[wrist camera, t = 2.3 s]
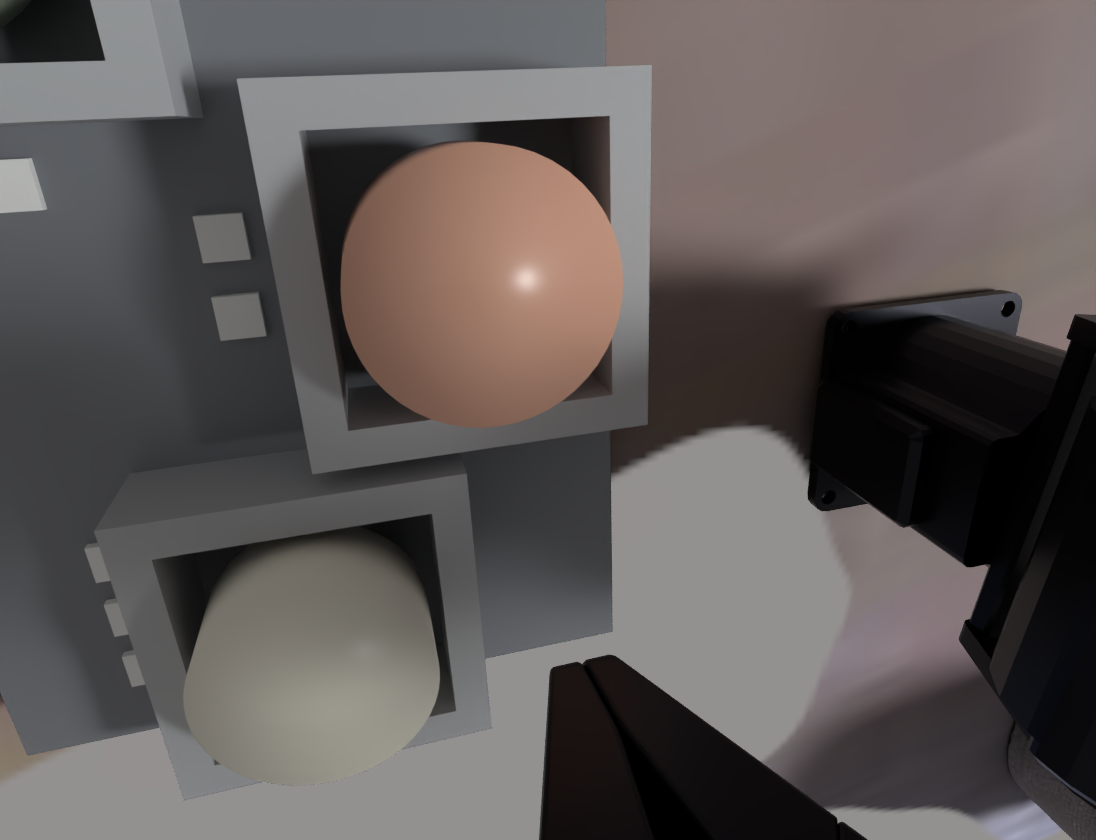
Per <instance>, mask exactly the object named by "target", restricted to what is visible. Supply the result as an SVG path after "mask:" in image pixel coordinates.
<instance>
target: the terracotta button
mask: <svg viewBox="0 0 1096 840" xmlns="http://www.w3.org/2000/svg"><path fill="white" fill-rule="evenodd" d="M622 296H623V270H622V261H621V256H620V251H619V246H618V243H617V240H616V237H615V234H614V231H613V228H612V226H611V224H610V222H609V220H608V218H607V216H606V214H605V212H604V211H603V209H602V208H601V206H600V205H599V203H598V201H597V200H596V198H595V197H594V196H593V195H592V194H591V192H590V191H589V190H588V189H587V188H586V187H585V186H584V184H583V183H582V182H580V181H579V180H578V179H577V178H576V177H575V176H574V175H572V174H571V173H570V172H569V171H568V170H566V169H565V168H563V167H561V166H560V165H558V164H557V163H555V162H554V161H552V160H550V159H548V158H546V157H544V156H542V155H539V154H537V153H535V152H532V151H529V150H526V149H522V148H519V147H515V146H509V145H503V144H496V143H487V142H478V141H447V142H439V143H435V144H431V145H428V146H424V147H421V148H419V149H416V150H414V151H412V152H409V153H407V154H405V155H404V156H402V157H400V158H399V159H397V160H396V161H394V162H392V163H391V164H390V165H389V166H387V167H386V168H385V169H384V170H383V171H381V172H380V173H379V174H378V175H377V176H376V177H375V178H374V180H373V181H372V182H371V183H370V184H369V185H368V186H367V188H366V189H365V191H364V192H363V193H362V195H361V196H360V198H359V199H358V201H357V203H356V205H355V207H354V209H353V211H352V213H351V215H350V218H349V221H348V224H347V227H346V230H345V235H344V240H343V246H342V260H341V302H342V312H343V316H344V321H345V325H346V329H347V332H348V335H349V337H350V340H351V343H352V345H353V348H354V349H355V351H356V353H357V355H358V357H359V359H360V361H361V362H362V364H363V365H364V367H365V368H366V370H367V371H368V372H369V374H370V375H371V376H372V378H373V379H374V380H375V381H376V382H377V383H378V384H379V385H380V386H381V387H382V388H383V389H384V391H385V392H387V393H388V394H389V395H390V396H392V397H393V398H394V399H395V400H397V401H398V402H399V403H401V404H402V405H404V406H406V407H407V408H409V409H410V410H412V411H414V412H416V413H418V414H420V415H422V416H425V417H427V418H429V419H432V420H435V421H438V422H442V423H445V424H449V425H455V426H461V427H475V428H485V427H498V426H503V425H508V424H513V423H517V422H520V421H523V420H526V419H529V418H532V417H534V416H536V415H538V414H541V413H543V412H545V411H547V410H549V409H550V408H552V407H553V406H555V405H557V404H558V403H560V402H561V401H563V400H564V399H565V398H567V397H568V396H569V395H570V394H571V393H573V392H574V391H575V390H576V389H577V388H578V387H579V386H580V385H581V384H582V383H583V382H584V381H585V380H586V379H587V378H588V377H589V375H590V374H591V373H592V371H593V370H594V369H595V368H596V366H597V365H598V363H599V362H600V360H601V358H602V357H603V355H604V353H605V352H606V350H607V348H608V346H609V344H610V341H611V339H612V337H613V335H614V332H615V329H616V325H617V322H618V319H619V315H620V310H621V304H622Z"/></svg>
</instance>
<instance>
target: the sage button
mask: <svg viewBox="0 0 1096 840" xmlns="http://www.w3.org/2000/svg"><path fill="white" fill-rule="evenodd" d="M30 2H31V0H0V28H2V27H3V26H5V25H7V24H8V23H9V22H10V21H12V20H13V19H14V18H15V17H16V16H17V15H19V14H20V13H21V12H22V11H23V10H24V9H25V8H26V6H27V5H28V4H29V3H30Z"/></svg>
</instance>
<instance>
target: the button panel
mask: <svg viewBox="0 0 1096 840" xmlns="http://www.w3.org/2000/svg"><path fill="white" fill-rule="evenodd" d="M651 84H652V65H641V66H611V67H606V8H605V0H31V2H30V3H29V4H28V5H27V6H26V8H25V9H24V10H23V11H22V12H21V13H20V14H19V15H17V16H16V17H15V18H14V19H13V20H12V21H10V22H9V23H8V24H7V25H5V26H3V27H2V28H0V694H1V696H2V698H3V701H4V703H5V705H6V707H7V710H8V712H9V714H10V716H11V719H12V721H13V723H14V726H15V728H16V730H17V732H18V735H19V737H20V739H21V742H22V744H23V746H24V748H25V751H26V753H27V755H33V754H37V753H42V752H47V751H51V750H56V749H61V748H66V747H70V746H75V745H80V744H85V743H89V742H94V741H99V740H103V739H108V738H113V737H117V736H122V735H127V734H132V733H136V732H141V731H146V730H150V729H155V728H160V730H161V733H162V736H163V739H164V742H165V745H166V748H167V751H168V754H169V757H170V760H171V763H172V766H173V769H174V772H175V775H176V777H177V781H178V784H179V787H180V789H181V793H182V795H183V799H184V800H188V799H193V798H197V797H201V796H206V795H209V794H214V793H218V792H223V791H227V790H231V789H235V788H239V787H244V786H248V785H253V784H257V783H261V781H257V780H254V779H251V778H248V777H245V776H242V775H240V774H238V773H236V772H234V771H231V770H230V769H228V768H226V767H225V766H223V765H221V764H220V763H218V762H217V761H216V760H215V759H213V758H212V757H211V756H210V755H209V754H207V752H206V751H205V750H204V749H203V748H202V747H201V746H200V745H199V743H198V742H197V740H196V739H195V737H194V736H193V734H192V732H191V730H190V728H189V725H188V723H187V720H186V716H185V711H184V704H183V692H184V685H185V679H186V676H187V672H188V669H189V665H190V662H191V658H192V655H193V652H194V648H195V645H196V641H197V638H198V634H199V631H200V627H201V624H202V620H203V617H204V614H205V610H206V607H207V603H208V600H209V597H210V594H211V591H212V588H213V586H214V584H215V582H216V580H217V578H218V576H219V575H220V574H221V572H222V571H223V569H224V568H225V567H226V565H227V564H228V563H229V562H230V561H231V560H232V559H233V558H234V557H235V556H236V555H237V554H238V553H240V552H241V551H242V550H243V549H245V548H246V547H247V546H249V545H250V544H252V543H257V542H263V541H269V540H275V539H281V538H287V537H293V536H300V535H306V534H312V533H318V532H324V531H330V530H336V529H342V528H348V527H354V526H358V527H362V528H365V529H367V530H370V531H373V532H376V533H377V534H379V535H381V536H383V537H385V538H387V539H389V540H390V541H392V542H393V543H394V544H396V545H397V546H399V547H400V548H401V549H402V550H403V551H404V552H405V553H406V554H407V555H408V556H409V557H410V559H411V560H412V561H413V562H414V563H415V565H416V567H417V569H418V570H419V572H420V574H421V576H422V579H423V581H424V584H425V588H426V593H427V598H428V604H429V610H430V615H431V621H432V627H433V633H434V638H435V644H436V650H437V656H438V661H439V668H440V683H439V691H438V695H437V698H436V702H435V705H434V707H433V709H432V712H431V714H430V716H429V717H428V719H427V721H426V722H425V724H424V725H423V727H422V728H421V729H420V731H419V732H418V733H417V734H416V736H415V737H414V738H413V739H412V740H411V741H410V742H409V743H408V744H407V745H406V746H405V747H404V748H402V749H406V748H410V747H415V746H419V745H423V744H428V743H432V742H436V741H440V740H445V739H449V738H454V737H458V736H461V735H466V734H471V733H475V732H479V731H483V730H487V729H491V728H492V726H491V716H490V706H489V696H488V685H487V676H486V665H485V658H490V657H495V656H500V655H504V654H509V653H514V652H518V651H523V650H528V649H532V648H537V647H542V646H547V645H551V644H556V643H561V642H566V641H570V640H575V639H580V638H584V637H589V636H594V635H598V634H603V633H608V632H612V544H611V454H610V430H615V429H622V428H629V427H636V426H642V425H648V360H649V268H650V176H651ZM447 141H478V142H487V143H496V144H503V145H509V146H515V147H519V148H522V149H526V150H529V151H532V152H535V153H537V154H539V155H542V156H544V157H546V158H548V159H550V160H552V161H554V162H555V163H557V164H558V165H560V166H561V167H563V168H565V169H566V170H568V171H569V172H570V173H571V174H572V175H574V176H575V177H576V178H577V179H578V180H579V181H580V182H582V183H583V184H584V186H585V187H586V188H587V189H588V190H589V191H590V192H591V194H592V195H593V196H594V197H595V198H596V200H597V201H598V203H599V205H600V206H601V208H602V209H603V211H604V212H605V214H606V216H607V218H608V220H609V222H610V224H611V226H612V228H613V231H614V234H615V237H616V240H617V243H618V246H619V251H620V256H621V261H622V270H623V296H622V304H621V310H620V315H619V319H618V322H617V325H616V329H615V332H614V335H613V337H612V339H611V341H610V344H609V346H608V348H607V350H606V352H605V353H604V355H603V357H602V358H601V360H600V362H599V363H598V365H597V366H596V368H595V369H594V370H593V371H592V373H591V374H590V375H589V377H588V378H587V379H586V380H585V381H584V382H583V383H582V384H581V385H580V386H579V387H578V388H577V389H576V390H575V391H574V392H573V393H571V394H570V395H569V396H568V397H567V398H565V399H564V400H563V401H561V402H560V403H558V404H557V405H555V406H553V407H552V408H550V409H549V410H547V411H545V412H543V413H541V414H538V415H536V416H534V417H532V418H529V419H526V420H523V421H520V422H517V423H513V424H508V425H503V426H498V427H485V428H475V427H461V426H455V425H449V424H445V423H442V422H438V421H435V420H432V419H429V418H427V417H425V416H422V415H420V414H418V413H416V412H414V411H412V410H410V409H409V408H407V407H406V406H404V405H402V404H401V403H399V402H398V401H397V400H395V399H394V398H393V397H392V396H390V395H389V394H388V393H387V392H385V391H384V389H383V388H382V387H381V386H380V385H379V384H378V383H377V382H376V381H375V380H374V379H373V378H372V376H371V375H370V374H369V372H368V371H367V370H366V368H365V367H364V365H363V364H362V362H361V361H360V359H359V357H358V355H357V353H356V351H355V349H354V348H353V345H352V343H351V340H350V337H349V335H348V332H347V329H346V325H345V321H344V316H343V312H342V302H341V260H342V246H343V240H344V235H345V230H346V227H347V224H348V221H349V218H350V215H351V213H352V211H353V209H354V207H355V205H356V203H357V201H358V199H359V198H360V196H361V195H362V193H363V192H364V191H365V189H366V188H367V186H368V185H369V184H370V183H371V182H372V181H373V180H374V178H375V177H376V176H377V175H378V174H379V173H380V172H381V171H383V170H384V169H385V168H386V167H387V166H389V165H390V164H391V163H392V162H394V161H396V160H397V159H399V158H400V157H402V156H404V155H405V154H407V153H409V152H412V151H414V150H416V149H419V148H421V147H424V146H428V145H431V144H435V143H439V142H447ZM402 749H401V750H402Z"/></svg>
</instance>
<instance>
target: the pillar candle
mask: <svg viewBox="0 0 1096 840" xmlns="http://www.w3.org/2000/svg"><path fill="white" fill-rule="evenodd" d="M1028 742H1029V741H1028V739H1027V738H1026V736H1025V735H1024V734H1023V732H1022V731H1021V729H1020V728H1019V726H1018V725H1017V723H1016V724H1015V728H1014V731H1013V733H1012V735H1011V742H1010V745H1009V748H1008V766H1009V769H1010V773H1011V775H1012V777H1013V779H1014V781H1015V782H1016V783H1017V785H1018V786H1019V787H1020V788H1021V789H1022V790H1023V792H1024V793H1025V794H1026V795H1027V796H1029V797H1030V798H1031V799H1032V800H1033V801H1034V802H1035V803H1036V804H1037V805H1038V806H1039V807H1040V808H1041V809H1042V810H1043V811H1044V812H1045V813H1046V814H1047V815H1048V816H1049V817H1050V818H1051V819H1052V820H1053V821H1054V822H1055V823H1056V824H1057V825H1058V826H1059V827H1060V828H1061V829H1062V830H1063V831H1064V832H1066V833H1067V834H1068V835H1069V836H1070V837H1071V838H1072V839H1073V840H1096V809H1094V808H1093V807H1092V806H1090V805H1089V804H1087V803H1086V802H1085V801H1083V800H1082V799H1080V798H1079V797H1078V796H1076V795H1075V794H1074V793H1072V792H1071V791H1070V790H1069V789H1068V788H1067V787H1066V786H1065V785H1064V784H1063V783H1062V782H1061V781H1060V780H1059V779H1058V778H1056V776H1054V775H1053V774H1052V773H1051V772H1050V771H1048V770H1047V769H1046V768H1045V767H1044V766H1042V765H1041V764H1040V763H1039V762H1038V761H1037V760H1036V758H1035V757H1034V756H1033V754H1032V753H1031V752H1030V750H1029V748H1028Z"/></svg>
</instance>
